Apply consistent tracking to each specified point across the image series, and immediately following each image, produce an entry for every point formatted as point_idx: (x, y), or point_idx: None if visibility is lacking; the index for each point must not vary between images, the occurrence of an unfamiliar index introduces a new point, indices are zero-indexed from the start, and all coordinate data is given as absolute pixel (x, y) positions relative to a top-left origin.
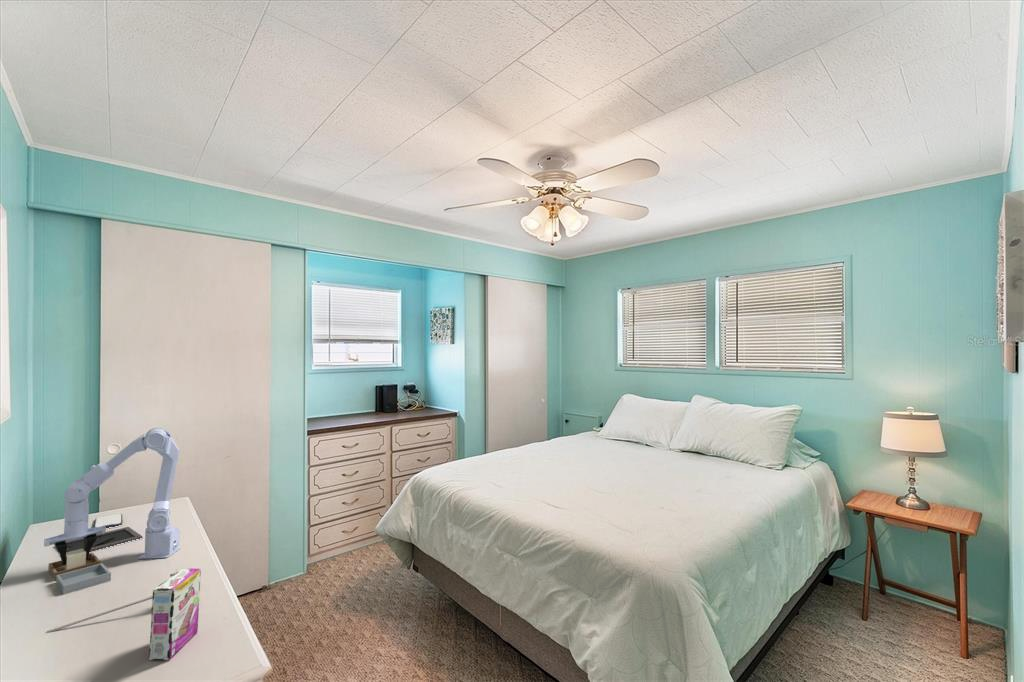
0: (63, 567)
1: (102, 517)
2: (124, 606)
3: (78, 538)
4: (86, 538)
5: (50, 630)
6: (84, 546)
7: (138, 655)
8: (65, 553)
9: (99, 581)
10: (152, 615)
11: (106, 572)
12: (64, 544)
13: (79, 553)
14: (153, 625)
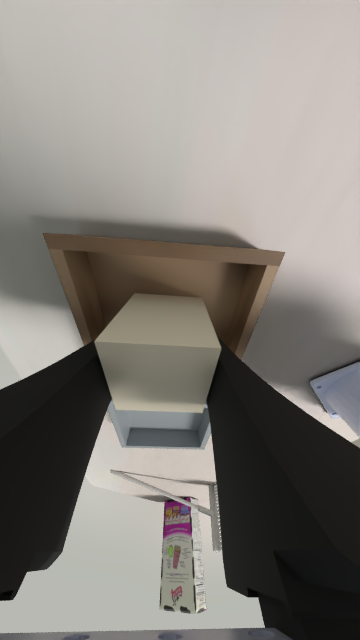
0: (135, 278)
1: None
2: (172, 498)
3: (160, 632)
4: (242, 580)
5: (113, 473)
6: (225, 391)
7: (162, 497)
8: (95, 428)
9: (183, 433)
10: (162, 561)
11: (201, 438)
12: (18, 573)
13: (172, 410)
14: (163, 546)
